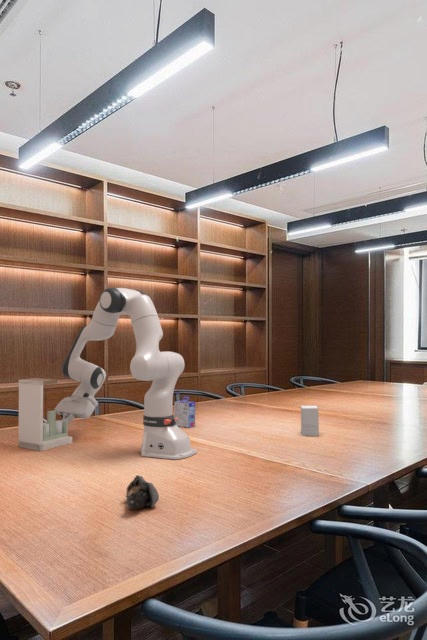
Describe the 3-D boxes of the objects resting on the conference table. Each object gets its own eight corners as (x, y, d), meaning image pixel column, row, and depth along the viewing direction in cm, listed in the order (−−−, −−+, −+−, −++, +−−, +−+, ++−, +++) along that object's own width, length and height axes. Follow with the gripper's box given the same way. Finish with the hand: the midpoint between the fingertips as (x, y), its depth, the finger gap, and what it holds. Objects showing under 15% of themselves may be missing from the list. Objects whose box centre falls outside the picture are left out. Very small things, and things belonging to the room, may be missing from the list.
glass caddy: (67, 435, 199) (67, 409, 199) (44, 441, 189) (44, 413, 189) (58, 434, 202) (58, 408, 203) (34, 439, 192) (34, 412, 192)
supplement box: (317, 432, 213) (316, 405, 214) (319, 436, 206) (318, 408, 206) (300, 432, 214) (300, 405, 214) (302, 436, 207) (301, 407, 207)
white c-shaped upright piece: (72, 442, 196) (72, 378, 197) (40, 451, 183) (40, 381, 183) (50, 439, 204) (51, 376, 204) (18, 446, 190) (18, 379, 191)
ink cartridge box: (196, 426, 230) (195, 397, 230) (188, 428, 225) (188, 398, 226) (181, 424, 236) (180, 395, 236) (173, 425, 231) (173, 396, 232)
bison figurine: (139, 496, 132) (107, 503, 126) (140, 471, 133) (108, 477, 126) (163, 508, 123) (130, 517, 117) (164, 482, 124) (131, 488, 117)
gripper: (62, 392, 214) (44, 416, 205) (93, 395, 203) (75, 421, 194) (70, 400, 217) (52, 425, 209) (101, 404, 206) (83, 430, 198)
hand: (64, 423), depth 201 cm, fingers closed
